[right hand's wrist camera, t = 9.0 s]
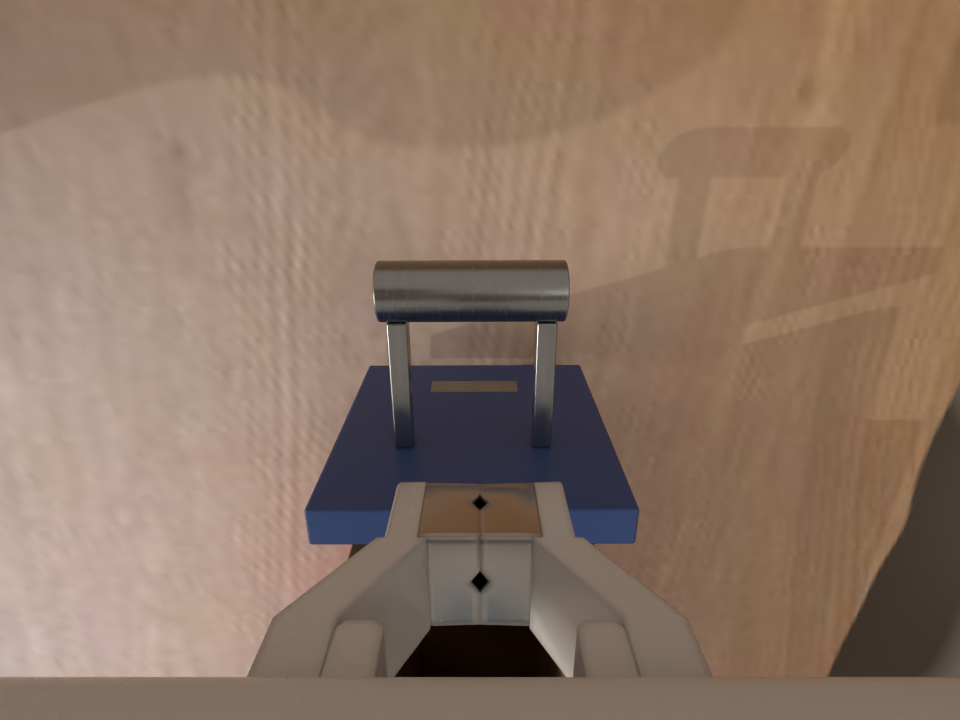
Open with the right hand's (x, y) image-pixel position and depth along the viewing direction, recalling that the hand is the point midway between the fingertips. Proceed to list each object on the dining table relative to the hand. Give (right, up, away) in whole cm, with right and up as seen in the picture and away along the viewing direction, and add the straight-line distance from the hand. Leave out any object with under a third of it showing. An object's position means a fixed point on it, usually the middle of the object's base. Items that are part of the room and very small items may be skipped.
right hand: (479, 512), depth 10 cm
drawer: (0, -4, +16) cm, 17 cm away
